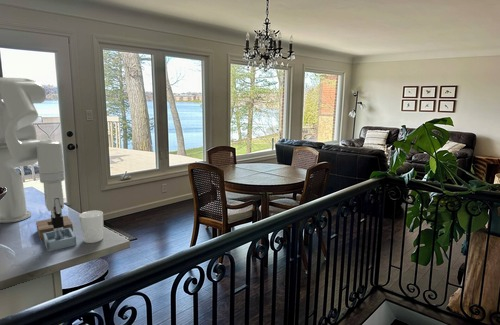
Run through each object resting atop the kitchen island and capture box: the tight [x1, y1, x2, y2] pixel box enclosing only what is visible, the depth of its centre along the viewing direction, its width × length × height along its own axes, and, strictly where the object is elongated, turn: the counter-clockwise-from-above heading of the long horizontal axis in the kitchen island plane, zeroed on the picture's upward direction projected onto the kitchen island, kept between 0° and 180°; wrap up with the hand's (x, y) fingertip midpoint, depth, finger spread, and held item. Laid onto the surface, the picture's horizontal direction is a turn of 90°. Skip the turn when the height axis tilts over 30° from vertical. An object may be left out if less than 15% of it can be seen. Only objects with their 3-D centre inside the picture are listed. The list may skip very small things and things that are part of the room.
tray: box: [43, 228, 77, 252], centre depth 122 cm, size 11×9×3 cm
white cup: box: [78, 209, 104, 244], centre depth 124 cm, size 8×8×10 cm
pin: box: [50, 210, 64, 241], centre depth 121 cm, size 3×3×12 cm
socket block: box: [35, 215, 74, 241], centre depth 131 cm, size 11×11×4 cm
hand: (57, 225), depth 121 cm, fingers closed on pin, 3 cm apart
